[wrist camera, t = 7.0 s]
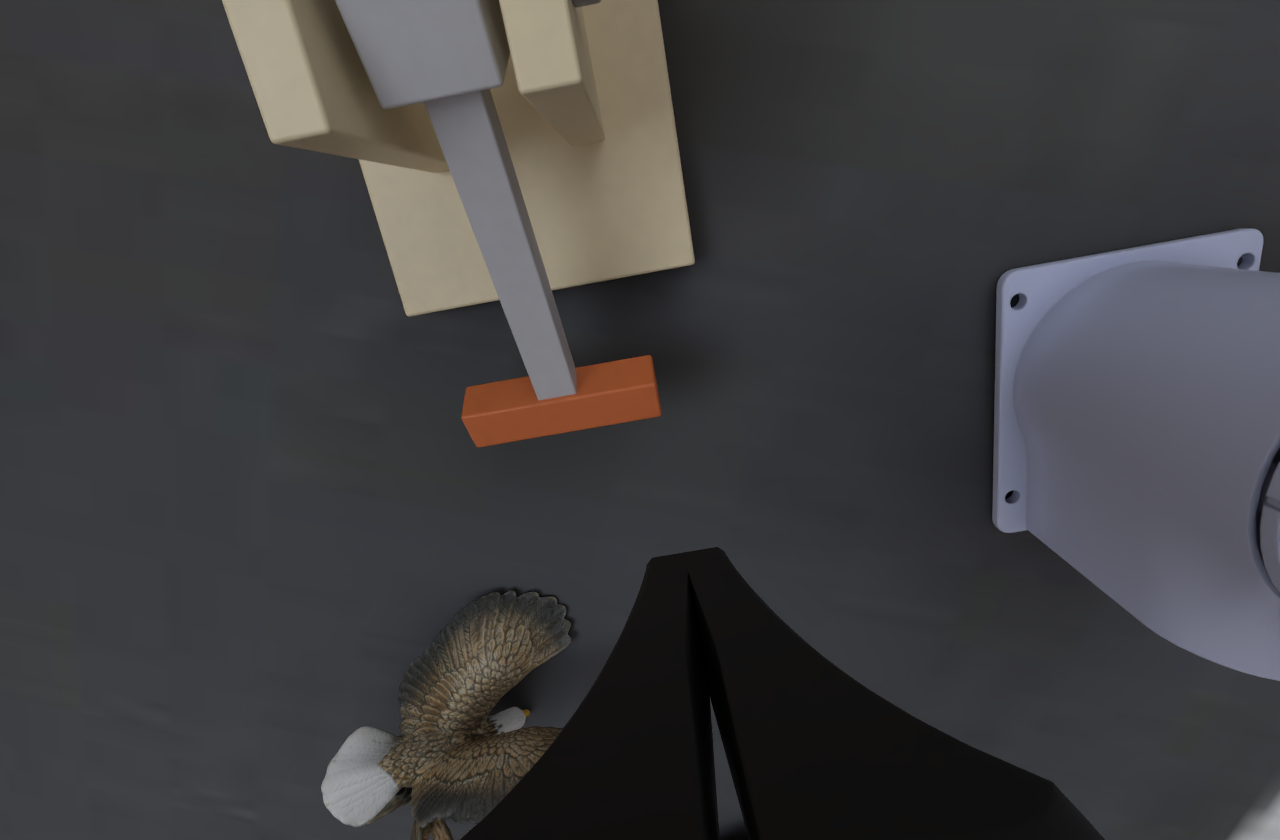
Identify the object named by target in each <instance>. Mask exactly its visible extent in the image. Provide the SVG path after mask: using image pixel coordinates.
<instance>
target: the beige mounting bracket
mask: <svg viewBox="0 0 1280 840" xmlns="http://www.w3.org/2000/svg"><path fill="white" fill-rule="evenodd" d="M222 2H223V5H224V8H225V11H226V14H227V17H228V20H229V23H230V25H231V28H232V31H233V34H234V37H235V40H236V43H237V46H238V48H239V51H240V54H241V57H242V60H243V63H244V66H245V69H246V71H247V74H248V77H249V80H250V83H251V86H252V89H253V92H254V94H255V97H256V100H257V103H258V106H259V109H260V112H261V115H262V118H263V120H264V123H265V126H266V129H267V132H268V135H269V138H270V140H271V141H272V142H273V143H274V144H278V145H284V146H289V147H295V148H300V149H306V150H311V151H317V152H322V153H328V154H333V155H339V156H344V157H350V158H355V159H359V162H360V165H361V169H362V172H363V175H364V179H365V182H366V185H367V188H368V192H369V195H370V198H371V201H372V205H373V208H374V211H375V214H376V218H377V221H378V224H379V228H380V231H381V234H382V237H383V241H384V244H385V247H386V250H387V254H388V257H389V260H390V263H391V267H392V270H393V273H394V277H395V280H396V283H397V286H398V290H399V293H400V296H401V299H402V303H403V306H404V309H405V313H406V315H407V316H416V315H421V314H426V313H432V312H437V311H443V310H448V309H454V308H459V307H465V306H470V305H476V304H481V303H487V302H492V301H498V300H499V297H498V294H497V292H496V289H495V287H494V284H493V281H492V279H491V276H490V274H489V271H488V268H487V266H486V263H485V261H484V258H483V256H482V253H481V250H480V248H479V245H478V243H477V240H476V237H475V235H474V232H473V230H472V227H471V224H470V222H469V219H468V217H467V214H466V211H465V209H464V206H463V204H462V201H461V198H460V196H459V193H458V191H457V188H456V185H455V183H454V180H453V178H452V175H451V172H450V170H449V167H448V165H447V162H446V159H445V157H444V154H443V152H442V149H441V146H440V144H439V141H438V139H437V136H436V133H435V131H434V128H433V126H432V123H431V120H430V118H429V115H428V113H427V110H426V107H425V105H424V102H421V103H416V104H411V105H406V106H401V107H396V108H391V109H383V108H382V107H381V105H380V103H379V101H378V98H377V96H376V94H375V91H374V89H373V87H372V85H371V82H370V80H369V78H368V75H367V73H366V71H365V68H364V66H363V64H362V62H361V59H360V57H359V55H358V52H357V50H356V48H355V45H354V43H353V41H352V39H351V36H350V34H349V32H348V29H347V27H346V25H345V22H344V20H343V18H342V16H341V13H340V11H339V9H338V6H337V4H336V2H335V0H222ZM499 3H500V7H501V12H502V16H503V21H504V26H505V30H506V35H507V39H508V44H509V49H510V55H509V59H508V64H507V69H506V73H505V78H504V82H503V85H502V86H500V87H496V88H491V89H490V91H491V94H492V97H493V101H494V104H495V107H496V111H497V114H498V117H499V120H500V124H501V127H502V130H503V133H504V137H505V140H506V143H507V146H508V150H509V153H510V156H511V160H512V163H513V166H514V169H515V173H516V176H517V179H518V182H519V186H520V189H521V192H522V195H523V199H524V202H525V205H526V209H527V212H528V215H529V218H530V222H531V225H532V228H533V231H534V235H535V238H536V241H537V244H538V248H539V251H540V254H541V258H542V261H543V264H544V267H545V271H546V274H547V277H548V280H549V284H550V287H551V290H558V289H563V288H569V287H574V286H580V285H585V284H591V283H596V282H601V281H607V280H612V279H618V278H623V277H629V276H634V275H640V274H645V273H651V272H656V271H662V270H667V269H673V268H678V267H683V266H689V265H693V264H694V263H695V259H694V252H693V245H692V238H691V231H690V224H689V217H688V210H687V203H686V196H685V189H684V182H683V175H682V168H681V161H680V154H679V147H678V140H677V133H676V126H675V119H674V112H673V105H672V98H671V91H670V84H669V77H668V70H667V63H666V56H665V49H664V42H663V35H662V28H661V21H660V14H659V7H658V0H499Z"/></svg>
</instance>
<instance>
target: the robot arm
mask: <svg viewBox="0 0 1280 840" xmlns="http://www.w3.org/2000/svg"><path fill="white" fill-rule="evenodd" d="M1262 248H1263V235H1262V234H1261V232H1260V231H1258V230H1257V229H1244V228H1239V229H1234V230H1228V231H1223V232H1217V233H1211V234H1206V235H1200V236H1195V237H1189V238H1183V239H1178V240H1172V241H1166V242H1161V243H1155V244H1150V245H1144V246H1138V247H1133V248H1127V249H1122V250H1116V251H1110V252H1105V253H1099V254H1093V255H1088V256H1082V257H1077V258H1071V259H1065V260H1060V261H1054V262H1049V263H1043V264H1037V265H1032V266H1026V267H1020V268H1015V269H1011V270H1008V271H1006V272H1005V273H1004V274H1003V275H1001V277H1000V279H999V280H998V283H997V293H996V346H995V399H994V453H993V506H992V520H993V524H994V525H995V526H996V527H997V528H998V529H999V530H1000V531H1002V532H1005V533H1013V532H1019V531H1025V530H1028V531H1029V532H1031V533H1032V534H1033V535H1034V536H1036V537H1037V538H1038V539H1039V540H1040V541H1042V542H1043V543H1044V544H1045V545H1047V546H1048V547H1049V548H1050V549H1052V550H1053V551H1054V552H1055V553H1056V554H1058V555H1059V556H1060V557H1061V558H1063V559H1064V560H1065V561H1066V562H1068V563H1069V564H1070V565H1071V566H1072V567H1074V568H1075V569H1076V570H1077V571H1079V572H1080V573H1081V574H1082V575H1084V576H1085V577H1086V578H1087V579H1088V580H1090V581H1091V582H1092V583H1093V584H1095V585H1096V586H1097V587H1098V588H1100V589H1101V590H1102V591H1103V592H1104V593H1106V594H1107V595H1108V596H1109V597H1111V598H1112V599H1113V600H1114V601H1116V602H1117V603H1118V604H1119V605H1120V606H1122V607H1123V608H1124V609H1125V610H1127V611H1128V612H1129V613H1130V614H1132V615H1133V616H1134V617H1135V618H1136V619H1138V620H1139V621H1140V622H1141V623H1143V624H1144V625H1145V626H1146V627H1148V628H1149V629H1151V630H1152V631H1154V632H1155V633H1157V634H1158V635H1159V636H1161V637H1163V638H1165V639H1166V640H1168V641H1170V642H1172V643H1173V644H1175V645H1177V646H1179V647H1181V648H1183V649H1185V650H1187V651H1189V652H1192V653H1194V654H1196V655H1198V656H1200V657H1203V658H1205V659H1208V660H1210V661H1213V662H1215V663H1218V664H1220V665H1223V666H1226V667H1228V668H1231V669H1234V670H1237V671H1241V672H1244V673H1247V674H1251V675H1254V676H1258V677H1262V678H1267V679H1271V680H1277V681H1280V273H1274V272H1264V271H1259V266H1260V260H1261V254H1262ZM1241 256H1242V262H1241V264H1240V265H1239V266H1238V267H1237V262H1238V259H1239V258H1240V257H1241ZM1016 294H1019V302H1018V304H1017V305H1016V306H1015V307H1012V308H1011V305H1010V301H1011V298H1012V297H1013V296H1014V295H1016ZM1012 490H1013V494H1012V495H1011V496H1010V497H1009V498H1006V499H1005V496H1006V494H1007V493H1008V492H1009V491H1012ZM710 698H711V702H712V706H713V709H714V713H715V717H716V720H717V724H718V728H719V731H720V735H721V738H722V742H723V746H724V749H725V753H726V757H727V760H728V764H729V768H730V771H731V775H732V778H733V782H734V786H735V789H736V793H737V797H738V800H739V804H740V807H741V811H742V815H743V819H744V823H745V827H746V832H747V836H748V840H1105V839H1104V838H1103V837H1102V836H1101V835H1100V834H1099V832H1098V831H1097V830H1096V829H1095V828H1094V827H1093V826H1092V824H1091V823H1090V822H1089V821H1088V820H1087V819H1086V818H1085V817H1084V816H1083V815H1082V814H1081V812H1080V811H1079V810H1078V809H1077V808H1076V807H1075V806H1074V805H1073V804H1072V803H1071V802H1070V801H1069V800H1068V798H1067V797H1066V796H1065V795H1064V794H1063V793H1062V792H1061V791H1060V790H1059V789H1058V788H1057V786H1056V785H1055V784H1054V783H1052V782H1051V781H1049V780H1046V779H1044V778H1042V777H1040V776H1037V775H1035V774H1033V773H1030V772H1028V771H1026V770H1024V769H1021V768H1019V767H1017V766H1014V765H1012V764H1010V763H1008V762H1005V761H1003V760H1001V759H998V758H996V757H994V756H992V755H989V754H987V753H985V752H982V751H980V750H978V749H976V748H973V747H971V746H969V745H967V744H965V743H963V742H961V741H959V740H957V739H955V738H953V737H951V736H949V735H947V734H945V733H943V732H941V731H940V730H938V729H936V728H934V727H932V726H930V725H928V724H926V723H924V722H922V721H920V720H919V719H917V718H915V717H913V716H912V715H910V714H908V713H907V712H905V711H903V710H902V709H900V708H898V707H897V706H895V705H893V704H892V703H890V702H888V701H887V700H885V699H884V698H882V697H880V696H879V695H877V694H875V693H874V692H872V691H870V690H869V689H867V688H866V687H864V686H863V685H862V684H860V683H859V682H857V681H856V680H854V679H853V678H852V677H850V676H849V675H847V674H846V673H844V672H843V671H842V670H840V669H839V668H838V667H837V666H835V665H834V664H833V663H831V662H830V661H829V660H827V659H826V658H825V657H823V656H822V655H821V654H820V653H819V652H817V651H816V650H815V649H814V648H812V647H811V646H810V645H809V644H808V643H807V642H805V641H804V640H803V639H802V638H801V637H800V636H799V635H798V634H796V633H795V632H794V631H793V630H792V629H791V628H790V627H789V626H788V625H787V624H786V623H784V622H783V621H782V620H781V619H780V618H779V617H778V616H777V615H776V614H775V613H774V612H773V611H772V610H771V609H770V608H769V606H768V605H767V604H766V603H765V602H764V601H763V600H762V599H761V598H760V597H759V596H758V595H757V594H756V593H755V592H754V590H753V589H752V588H751V587H750V586H749V585H748V584H747V582H746V581H745V580H744V579H743V577H742V576H741V575H740V574H739V572H738V571H737V570H736V569H735V567H734V566H733V565H732V563H731V562H730V560H729V559H728V557H727V556H726V554H725V552H724V551H723V550H721V549H720V548H718V547H715V548H709V549H703V550H697V551H691V552H685V553H679V554H672V555H666V556H660V557H654V558H652V559H651V560H650V561H649V563H648V564H647V568H646V572H645V576H644V579H643V582H642V585H641V588H640V591H639V594H638V596H637V599H636V602H635V604H634V606H633V609H632V611H631V613H630V616H629V618H628V620H627V622H626V625H625V627H624V629H623V631H622V633H621V636H620V638H619V639H618V641H617V643H616V645H615V647H614V649H613V651H612V653H611V655H610V656H609V658H608V660H607V662H606V664H605V666H604V668H603V669H602V671H601V673H600V675H599V676H598V678H597V680H596V681H595V683H594V685H593V686H592V688H591V689H590V691H589V692H588V694H587V695H586V697H585V698H584V700H583V701H582V703H581V704H580V706H579V707H578V709H577V710H576V712H575V713H574V715H573V716H572V717H571V719H570V720H569V721H568V723H567V724H566V725H565V727H564V728H563V729H562V731H561V732H560V733H559V735H558V736H557V737H556V739H555V740H554V741H553V743H552V744H551V745H550V746H549V748H548V749H547V750H546V751H545V753H544V754H543V755H542V756H541V758H540V759H539V760H538V761H537V762H536V763H535V765H534V766H533V767H532V768H531V769H530V770H529V771H528V772H527V773H526V774H525V776H524V777H523V778H522V779H521V780H520V781H519V782H518V783H517V784H516V785H515V787H514V788H513V789H512V790H511V791H510V792H509V793H508V794H507V795H506V796H505V797H504V798H503V800H502V801H501V802H500V803H499V804H498V805H497V806H496V807H495V808H494V809H493V810H492V811H491V812H490V813H489V814H488V815H487V816H486V817H484V818H483V819H482V820H481V821H480V822H479V823H478V824H477V825H476V826H475V827H474V828H473V829H471V830H470V831H469V832H468V833H467V834H466V835H465V836H464V837H463V838H462V839H460V840H720V833H719V823H718V811H717V797H716V782H715V767H714V753H713V738H712V724H711V709H710Z"/></svg>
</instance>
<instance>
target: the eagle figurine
mask: <svg viewBox="0 0 1280 840" xmlns="http://www.w3.org/2000/svg"><path fill="white" fill-rule="evenodd" d="M565 615H566V607H565V606H564V605H560V604H557V599H556V598H555V597H553V596H547V597H539V594H538V593H536V592H527V593H525V594H522V595H521V596H519V597H516V593H515V591H512V590H510V591H508V592H507V593H505V594H503V595H500V593H498V592H493V593H490V594H489V595H486V596H483V597H481V598H479V600H478V601H474V602H470V603H469V604H467V606H466V607H465V609H464V610H461V611H458V612H457V613H456V614H455V616H454V618H453V621H452V622H451V623H449V624H448V625H447V626H446V627H445V628H444V629H442V630H441V632H440V633H439V636H438V640H437V641H433V642H432V643H431V645H430V646H429V648H427V649H425V651H424V652H423V654H422V657H421V658H419V657H418V658H416V659H415V661H414V662H413V663H411V664H410V665H409V669H408V670H407V671H406V673H405V675H404V681H403V682H402V684H401V685H400V687H399V690H400V694H399V698H398V700H399V702H400V704H401V708H400V716H401V717H402V719H403V721H402V723H401V724H400V729H401V731H402V736H396V735H394V734H392V733H388V732H386V731H383V730H380V729H377V728H373V727H367V726H364V727H360V728H359V729H357V730H355V732H354V733H352V734H351V735H350V736H349V737H348V738H347V739H346V741H345V742H344V744H343V745H342V747H341V748H340V750H339V751H338V753H337V754H336V755H335V756H334V757H333V758H332V760H331V761H330V763H329V765H328V767H327V772H326V776H325V778H324V780H323V782H322V785H321V791H322V793H323V802H324V804H325V806H326V807H327V809H328V810H329V811H330V812H331V813H332V815H333V816H334V817H335V818H337V819H338V820H340V821H341V822H342V823H343V824H346V825H352V826H353V827H360V826H363V825H369V824H371V823H372V822H374V821H375V820H377V819H379V818H381V817H383V816H385V815H387V814H388V813H390V812H392V811H394V810H395V809H397V808H398V807H400V806H402V805H406V804H407V803H408V802H409V801H410V800H411V801H410V806H411V808H412V809H411V814H412V815H413V818H414V819H415V820H414V824H413V829H412V834H411V839H410V840H427V839H428V838H429V836H430V834H431V835H432V836H433V838H434V840H453V837H452V834H451V831H450V829H449V828H448V826H447V825H446V822H445V819H447V818H451V819H452V820H453V821H455V822H456V823H461V822H462V821H463V822H469V821H474V822H476V823H477V824H478V823H479V822H480V821H481V820H482V819H483V818H484V817H486V816H487V815H488V814H489V813H490V812H491V811H492V810H493V809H494V808H495V807H496V806H497V805H498V804H499V803H500V802H501V801H502V800H503V798H504V797H505V796H506V795H507V794H508V793H509V792H510V791H511V790H512V789H513V788H514V787H515V785H516V784H517V783H518V782H519V781H520V780H521V779H522V778H523V777H524V776H525V774H526V773H527V772H528V771H529V770H530V769H531V768H532V767H533V766H534V765H535V763H536V762H537V761H538V760H539V759H540V758H541V756H542V755H543V754H544V753H545V751H546V750H547V749H548V748H549V746H550V745H551V744H552V743H553V741H554V740H555V739H556V737H557V736H558V735H559V733H560V732H561V731H562V729H563V728H554V727H538V726H534V727H528V728H522V729H519V728H521V727H522V726H523V725H524V723H525V718H526V717H527V716H528V715H529V714H530V711H529V710H527V709H525V710H521V709H519V708H518V707H512V708H509V709H506V710H504V711H501V712H499V713H497V714H495V715H491V716H488V714H489V713H490V711H491V710H492V709H493V707H494V706H495V705H496V703H497V702H498V701H499V700H500V699H501V698H502V697H503V696H504V695H505V694H506V693H507V692H508V691H509V690H510V689H511V688H513V687H514V686H515V685H516V684H518V683H519V682H520V681H521V680H522V679H523V678H524V677H525V676H526V675H527V674H528V673H529V672H530V671H532V670H533V669H535V668H537V667H538V666H540V665H541V664H543V663H545V662H546V661H547V660H549V659H550V658H551V657H553V656H555V655H557V654H558V653H560V652H561V651H563V650H564V649H565V648H566V647H567V646H569V645H570V643H571V637H570V636H569V635H568V632H569V629H570V627H571V623H570V622H569V621H568V620H566V619H564V617H565Z"/></svg>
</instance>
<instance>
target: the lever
mask: <svg viewBox="0 0 1280 840" xmlns="http://www.w3.org/2000/svg"><path fill="white" fill-rule="evenodd" d="M335 2H336V4H337V6H338V9H339V11H340V13H341V16H342V18H343V20H344V22H345V25H346V27H347V29H348V32H349V34H350V36H351V39H352V41H353V43H354V45H355V48H356V50H357V52H358V55H359V57H360V59H361V62H362V64H363V66H364V68H365V71H366V73H367V75H368V78H369V80H370V82H371V85H372V87H373V89H374V91H375V94H376V96H377V98H378V101H379V103H380V105H381V107H382V108H383V109H391V108H396V107H401V106H406V105H411V104H416V103H421V102H424V105H425V107H426V110H427V113H428V115H429V118H430V120H431V123H432V126H433V128H434V131H435V133H436V136H437V139H438V141H439V144H440V146H441V149H442V152H443V154H444V157H445V159H446V162H447V165H448V167H449V170H450V172H451V175H452V178H453V180H454V183H455V185H456V188H457V191H458V193H459V196H460V198H461V201H462V204H463V206H464V209H465V211H466V214H467V217H468V219H469V222H470V224H471V227H472V230H473V232H474V235H475V237H476V240H477V243H478V245H479V248H480V250H481V253H482V256H483V258H484V261H485V263H486V266H487V268H488V271H489V274H490V276H491V279H492V281H493V284H494V287H495V289H496V292H497V294H498V297H499V300H500V302H501V305H502V307H503V310H504V313H505V315H506V318H507V320H508V323H509V326H510V328H511V331H512V333H513V336H514V339H515V341H516V344H517V346H518V349H519V352H520V354H521V357H522V359H523V362H524V365H525V367H526V370H527V372H528V375H529V376H526V377H521V378H515V379H509V380H504V381H498V382H492V383H487V384H481V385H475V386H470V387H467V388H466V392H465V398H464V404H463V410H462V416H461V418H462V420H463V422H464V424H465V426H466V428H467V430H468V432H469V434H470V436H471V437H472V439H473V441H474V443H475V445H476V447H484V446H490V445H496V444H502V443H508V442H513V441H519V440H525V439H531V438H537V437H543V436H548V435H554V434H560V433H566V432H572V431H578V430H583V429H589V428H595V427H601V426H607V425H613V424H618V423H624V422H630V421H636V420H642V419H648V418H653V417H659V416H661V406H660V400H659V394H658V388H657V382H656V377H655V371H654V366H653V360H652V357H651V355H645V356H640V357H634V358H628V359H623V360H617V361H611V362H606V363H600V364H594V365H589V366H583V367H577V368H575V365H574V362H573V359H572V355H571V352H570V349H569V346H568V342H567V339H566V336H565V333H564V329H563V326H562V323H561V320H560V316H559V313H558V310H557V306H556V303H555V300H554V297H553V293H552V290H551V287H550V284H549V280H548V277H547V274H546V271H545V267H544V264H543V261H542V258H541V254H540V251H539V248H538V244H537V241H536V238H535V235H534V231H533V228H532V225H531V222H530V218H529V215H528V212H527V209H526V205H525V202H524V199H523V195H522V192H521V189H520V186H519V182H518V179H517V176H516V173H515V169H514V166H513V163H512V160H511V156H510V153H509V150H508V146H507V143H506V140H505V137H504V133H503V130H502V127H501V124H500V120H499V117H498V114H497V111H496V107H495V104H494V101H493V97H492V94H491V91H490V89H491V88H496V87H500V86H502V85H503V82H504V78H505V73H506V69H507V64H508V59H509V55H510V49H509V44H508V39H507V35H506V30H505V26H504V21H503V16H502V12H501V7H500V3H499V0H335Z"/></svg>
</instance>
